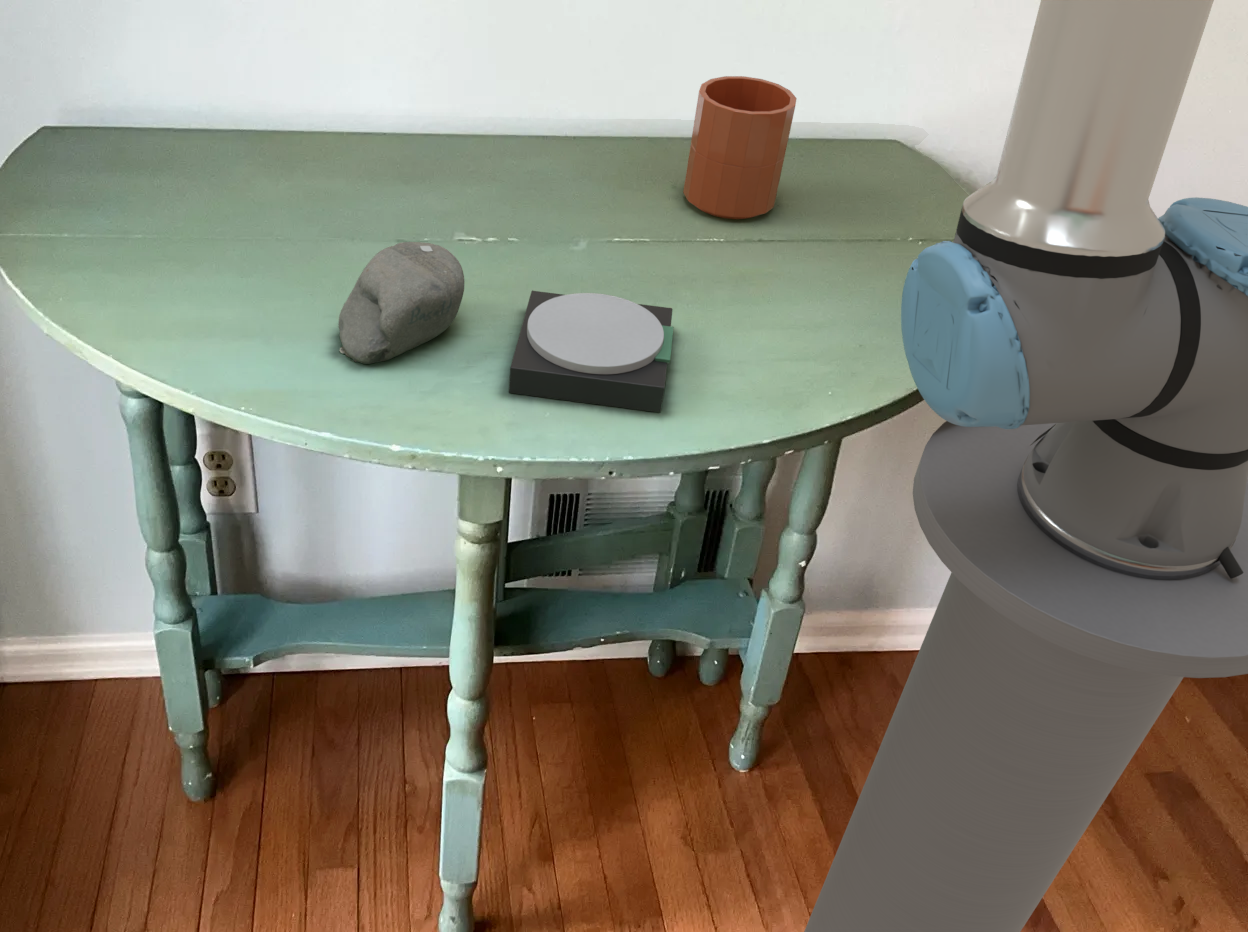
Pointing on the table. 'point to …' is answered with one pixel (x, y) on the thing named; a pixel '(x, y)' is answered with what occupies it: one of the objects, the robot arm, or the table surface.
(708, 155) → the terracotta flower pot
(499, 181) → the table surface
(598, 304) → the scale
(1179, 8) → the robot arm
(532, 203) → the table surface
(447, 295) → the stone
